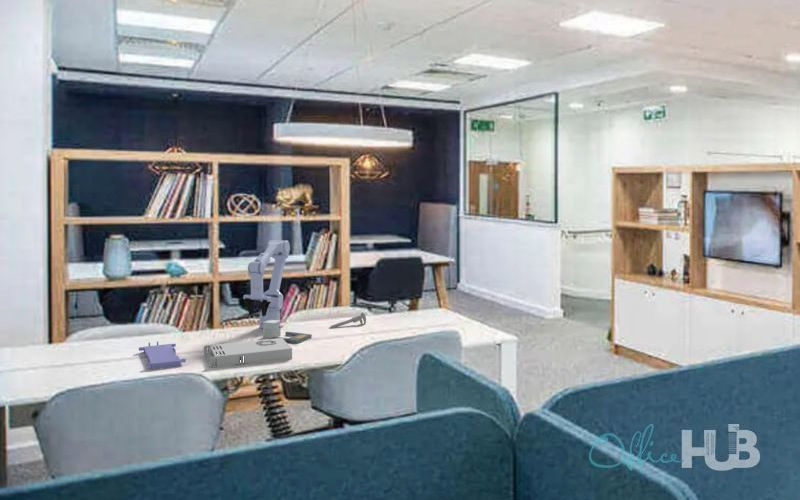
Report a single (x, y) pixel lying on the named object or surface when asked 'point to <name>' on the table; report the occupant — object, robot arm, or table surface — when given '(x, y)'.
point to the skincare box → (271, 328)
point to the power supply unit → (248, 352)
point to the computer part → (162, 356)
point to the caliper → (351, 320)
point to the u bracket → (295, 337)
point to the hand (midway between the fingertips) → (257, 315)
